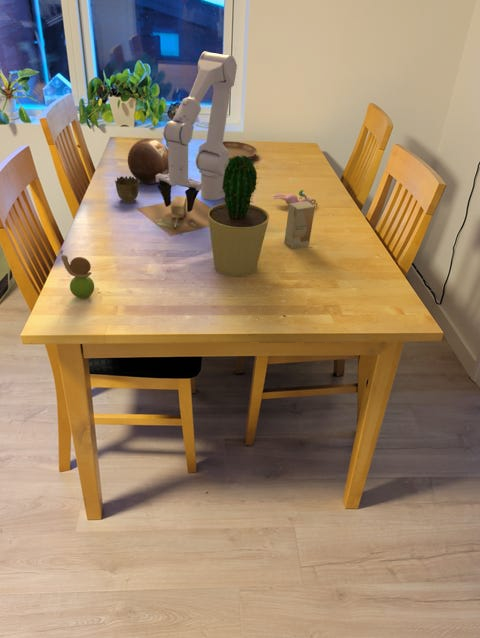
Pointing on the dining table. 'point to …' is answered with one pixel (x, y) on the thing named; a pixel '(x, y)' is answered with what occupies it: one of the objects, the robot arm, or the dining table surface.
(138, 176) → the wooden sphere
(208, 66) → the robot arm
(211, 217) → the potted cactus
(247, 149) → the plant saucer
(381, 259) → the dining table surface
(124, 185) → the cup
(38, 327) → the dining table surface
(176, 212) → the peg key
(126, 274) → the dining table surface
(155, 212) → the brown flat square board
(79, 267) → the snail figurine
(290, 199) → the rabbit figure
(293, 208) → the skincare box
